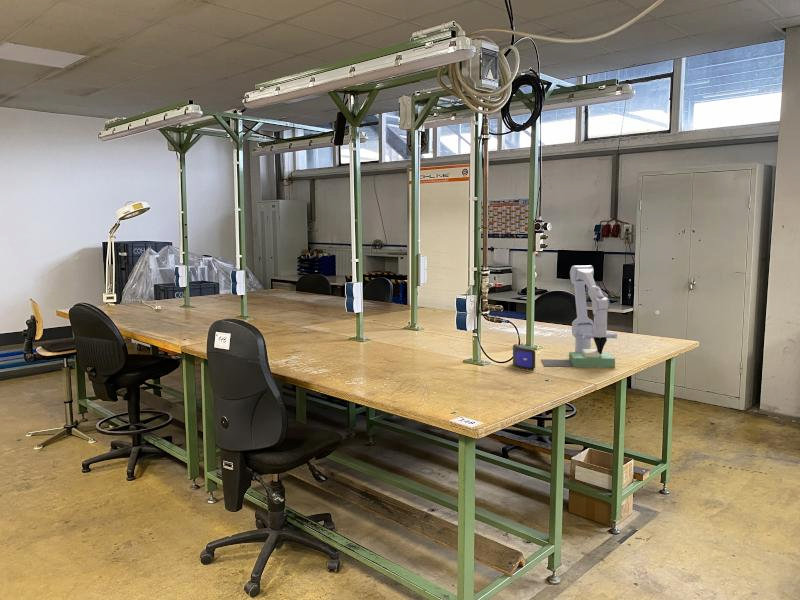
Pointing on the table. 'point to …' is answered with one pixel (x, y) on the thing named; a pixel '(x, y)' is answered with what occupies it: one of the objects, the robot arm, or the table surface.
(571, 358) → the block
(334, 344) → the table surface
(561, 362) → the mat
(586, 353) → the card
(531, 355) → the framed blue square panel
